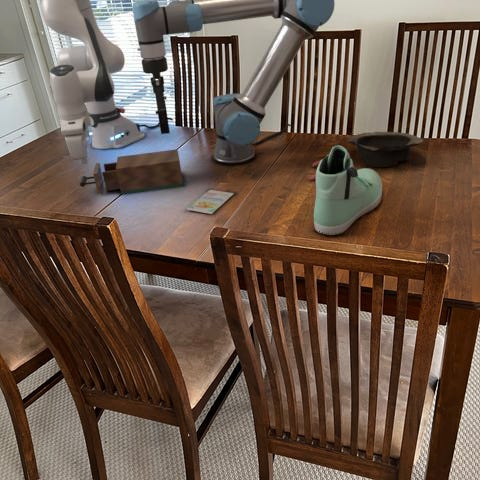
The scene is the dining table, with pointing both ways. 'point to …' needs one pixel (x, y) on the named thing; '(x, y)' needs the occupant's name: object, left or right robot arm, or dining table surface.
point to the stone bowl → (384, 147)
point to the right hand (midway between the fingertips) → (164, 126)
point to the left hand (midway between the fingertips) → (85, 162)
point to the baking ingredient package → (210, 201)
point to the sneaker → (343, 192)
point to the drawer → (103, 177)
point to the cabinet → (149, 171)
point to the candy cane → (315, 173)
